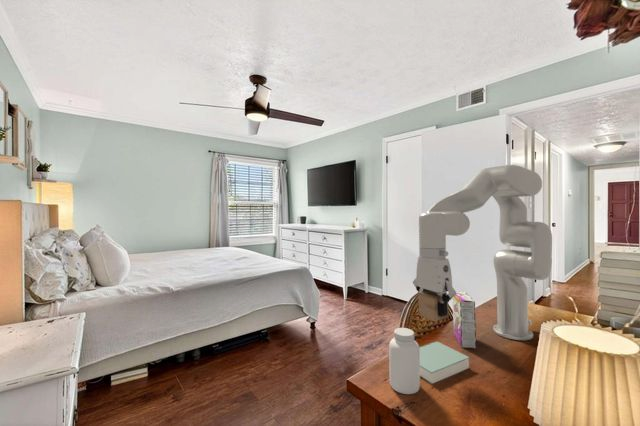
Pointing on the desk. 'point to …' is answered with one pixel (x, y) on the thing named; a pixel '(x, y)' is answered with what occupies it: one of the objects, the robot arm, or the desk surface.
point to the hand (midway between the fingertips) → (433, 311)
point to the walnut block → (430, 305)
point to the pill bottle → (404, 362)
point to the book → (440, 362)
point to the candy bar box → (464, 320)
